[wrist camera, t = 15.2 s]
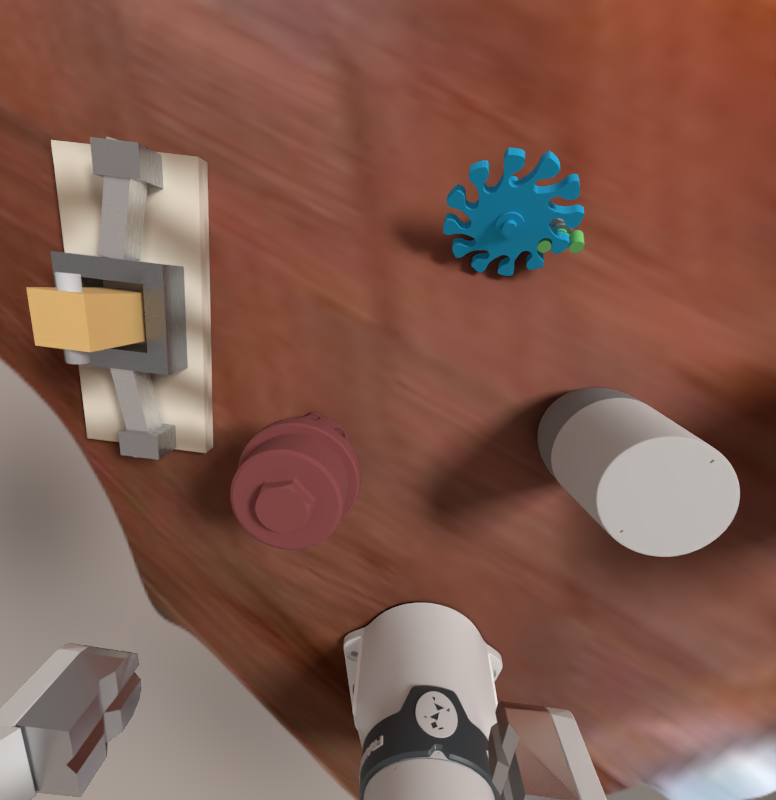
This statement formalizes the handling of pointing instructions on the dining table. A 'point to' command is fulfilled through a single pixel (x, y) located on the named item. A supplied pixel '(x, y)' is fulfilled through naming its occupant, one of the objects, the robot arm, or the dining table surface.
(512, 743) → the robot arm
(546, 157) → the blue toothed wheel
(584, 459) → the smart speaker
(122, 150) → the shaft assembly
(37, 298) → the coupler
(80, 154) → the board
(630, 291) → the dining table surface
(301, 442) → the mechanical component
